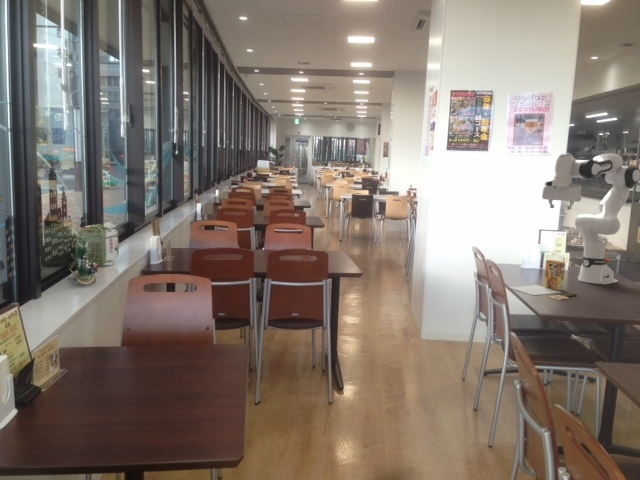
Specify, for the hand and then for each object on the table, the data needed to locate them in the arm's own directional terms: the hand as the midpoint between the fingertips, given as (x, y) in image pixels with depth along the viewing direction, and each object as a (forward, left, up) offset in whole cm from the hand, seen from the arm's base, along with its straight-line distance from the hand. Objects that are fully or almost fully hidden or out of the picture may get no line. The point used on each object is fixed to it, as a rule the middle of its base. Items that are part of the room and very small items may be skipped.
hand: (560, 208), depth 320 cm
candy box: (+7, +7, -43) cm, 44 cm away
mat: (+20, +6, -43) cm, 48 cm away
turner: (+17, +23, -43) cm, 52 cm away
